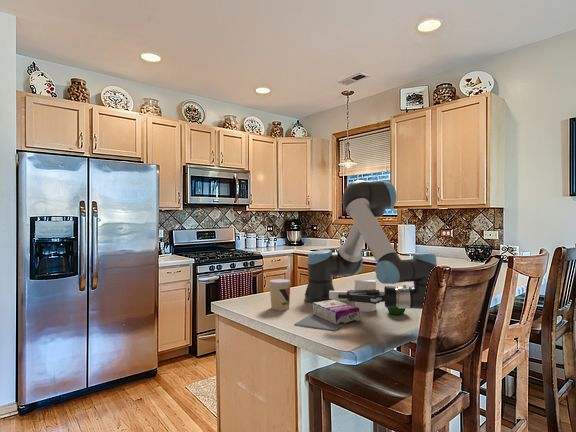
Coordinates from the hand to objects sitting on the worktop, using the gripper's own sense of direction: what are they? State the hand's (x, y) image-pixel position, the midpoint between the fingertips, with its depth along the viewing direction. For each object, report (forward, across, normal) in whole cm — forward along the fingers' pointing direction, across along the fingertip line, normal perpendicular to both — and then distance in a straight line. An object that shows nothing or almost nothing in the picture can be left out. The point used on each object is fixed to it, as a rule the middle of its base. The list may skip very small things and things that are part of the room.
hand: (329, 294), depth 129 cm
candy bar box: (-7, -2, +8) cm, 11 cm away
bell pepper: (-25, -20, +11) cm, 34 cm away
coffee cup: (+24, -20, +11) cm, 33 cm away
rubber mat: (+3, -4, +11) cm, 12 cm away
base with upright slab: (-13, -25, +11) cm, 31 cm away
